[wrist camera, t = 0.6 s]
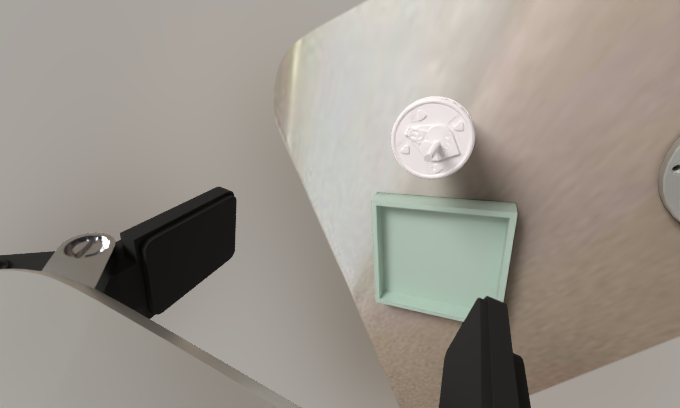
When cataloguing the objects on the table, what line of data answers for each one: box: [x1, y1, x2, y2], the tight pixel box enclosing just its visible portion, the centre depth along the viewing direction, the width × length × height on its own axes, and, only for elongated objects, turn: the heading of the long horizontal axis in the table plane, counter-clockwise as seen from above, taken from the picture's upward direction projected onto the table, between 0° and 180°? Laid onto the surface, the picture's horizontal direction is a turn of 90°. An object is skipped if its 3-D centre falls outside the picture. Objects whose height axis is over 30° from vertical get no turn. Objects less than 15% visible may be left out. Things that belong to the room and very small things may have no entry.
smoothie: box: [391, 96, 476, 179], centre depth 26 cm, size 6×6×14 cm
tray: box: [371, 193, 518, 322], centre depth 37 cm, size 15×15×3 cm
